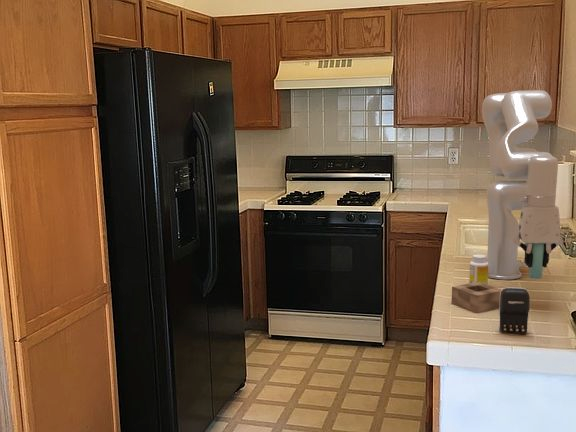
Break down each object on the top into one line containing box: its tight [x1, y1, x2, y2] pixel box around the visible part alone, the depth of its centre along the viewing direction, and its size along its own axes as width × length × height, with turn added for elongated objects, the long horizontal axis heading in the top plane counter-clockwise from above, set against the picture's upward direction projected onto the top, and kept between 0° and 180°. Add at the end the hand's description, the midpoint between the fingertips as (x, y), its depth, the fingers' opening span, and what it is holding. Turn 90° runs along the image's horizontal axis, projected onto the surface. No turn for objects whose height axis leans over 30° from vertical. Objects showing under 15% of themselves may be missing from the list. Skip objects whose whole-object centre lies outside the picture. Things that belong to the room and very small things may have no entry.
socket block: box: [451, 282, 503, 314], centre depth 179 cm, size 10×10×5 cm
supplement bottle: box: [468, 254, 489, 285], centre depth 196 cm, size 6×6×10 cm
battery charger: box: [498, 286, 531, 335], centre depth 157 cm, size 7×4×11 cm, turn 78°
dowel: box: [528, 244, 544, 280], centre depth 175 cm, size 3×3×12 cm
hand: (536, 265), depth 175 cm, fingers closed on dowel, 3 cm apart
